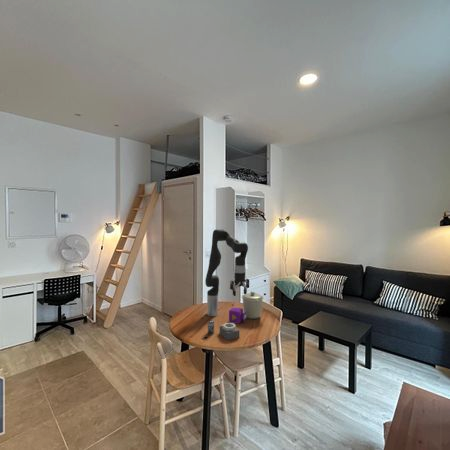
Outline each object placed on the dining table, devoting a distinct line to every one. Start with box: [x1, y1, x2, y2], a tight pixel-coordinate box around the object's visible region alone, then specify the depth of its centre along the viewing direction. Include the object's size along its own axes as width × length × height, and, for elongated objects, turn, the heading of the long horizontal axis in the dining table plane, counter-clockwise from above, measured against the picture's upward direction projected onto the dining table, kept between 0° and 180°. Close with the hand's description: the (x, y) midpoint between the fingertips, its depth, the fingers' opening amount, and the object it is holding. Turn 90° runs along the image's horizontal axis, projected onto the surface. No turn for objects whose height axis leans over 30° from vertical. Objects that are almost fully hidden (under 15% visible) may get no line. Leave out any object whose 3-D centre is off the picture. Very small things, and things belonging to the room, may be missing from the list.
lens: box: [207, 320, 215, 335], centre depth 172 cm, size 5×5×8 cm
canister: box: [241, 290, 264, 320], centre depth 203 cm, size 18×18×21 cm
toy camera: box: [228, 306, 247, 324], centre depth 193 cm, size 11×14×10 cm
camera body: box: [219, 322, 240, 341], centre depth 168 cm, size 12×9×7 cm
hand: (239, 294), depth 167 cm, fingers open, 8 cm apart
